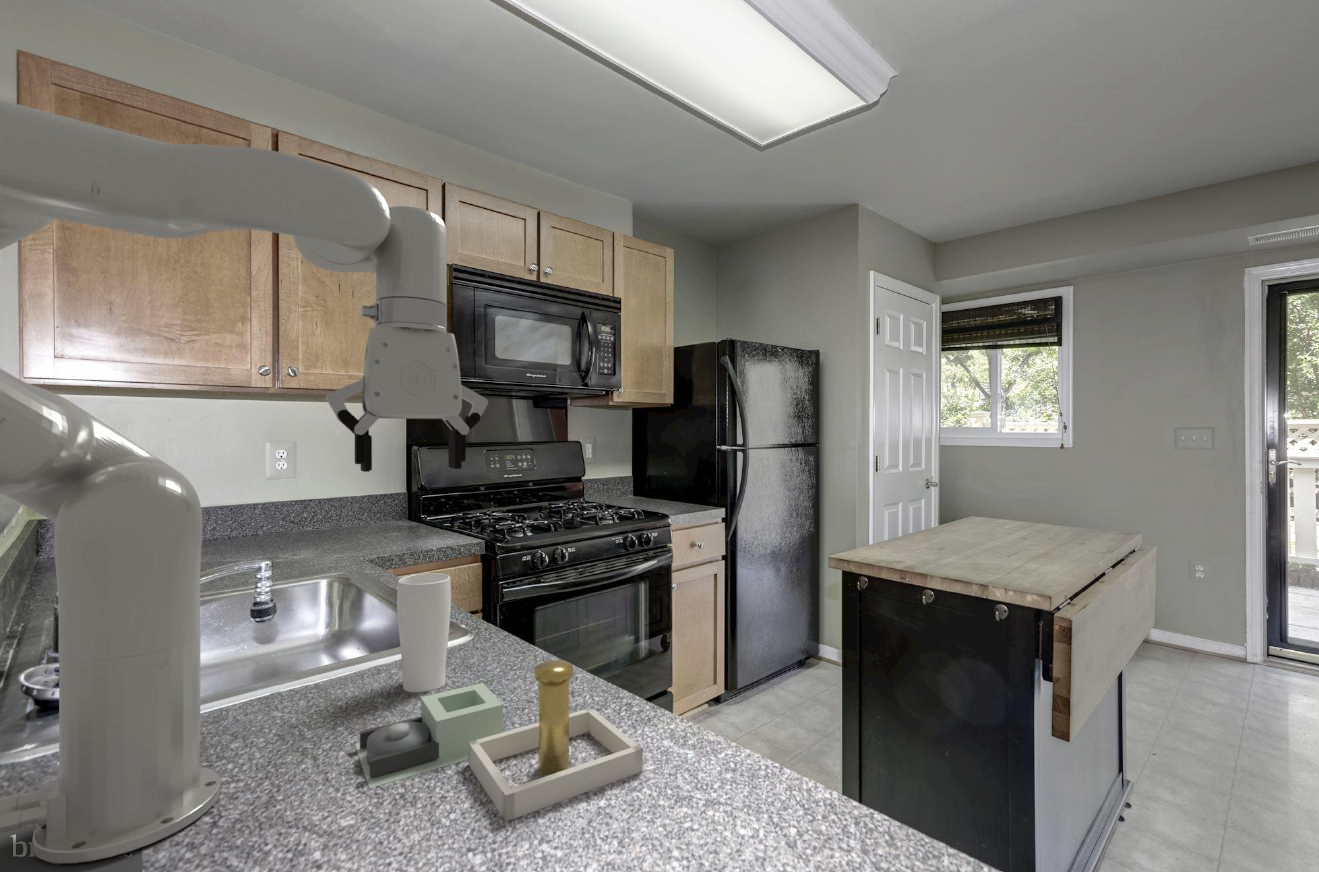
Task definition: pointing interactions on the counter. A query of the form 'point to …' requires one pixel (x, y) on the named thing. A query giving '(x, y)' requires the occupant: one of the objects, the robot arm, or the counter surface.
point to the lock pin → (553, 715)
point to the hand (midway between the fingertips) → (412, 469)
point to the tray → (558, 784)
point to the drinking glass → (424, 629)
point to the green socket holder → (430, 735)
